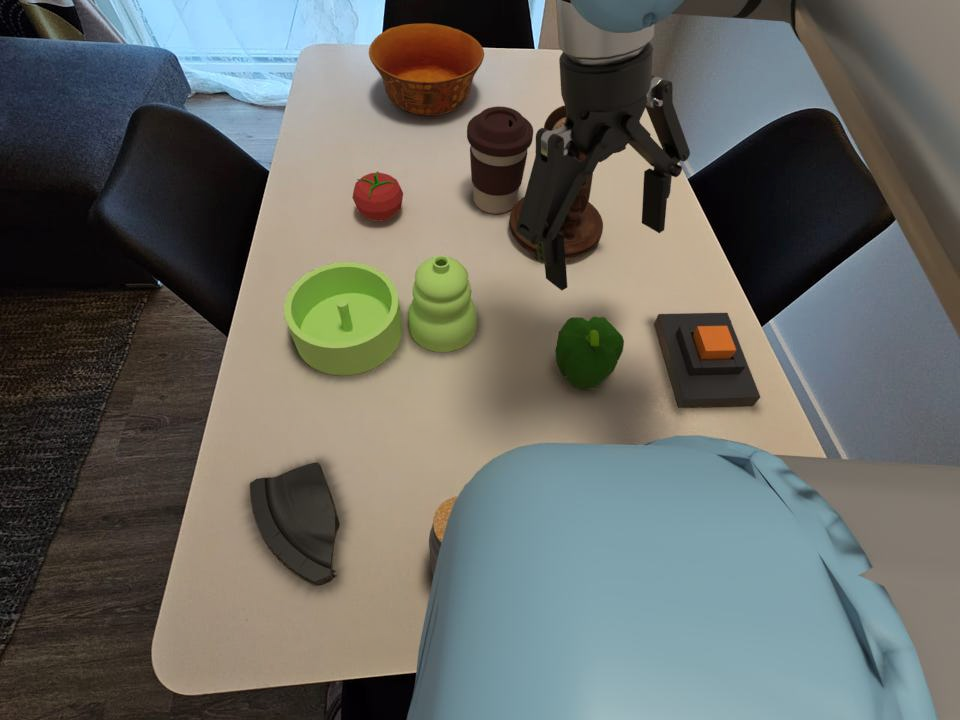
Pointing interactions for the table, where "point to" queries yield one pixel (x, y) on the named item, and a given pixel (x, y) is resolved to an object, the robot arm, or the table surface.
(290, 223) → the table surface
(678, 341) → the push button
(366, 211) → the tomato
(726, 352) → the orange square block
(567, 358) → the bell pepper
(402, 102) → the bowl
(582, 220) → the wooden spool holder
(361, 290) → the green rounded pieces
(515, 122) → the coffee cup
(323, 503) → the fan shaped piece
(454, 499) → the bottle
